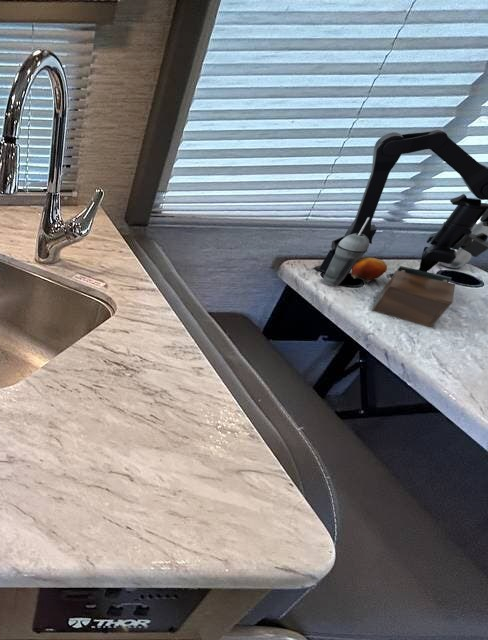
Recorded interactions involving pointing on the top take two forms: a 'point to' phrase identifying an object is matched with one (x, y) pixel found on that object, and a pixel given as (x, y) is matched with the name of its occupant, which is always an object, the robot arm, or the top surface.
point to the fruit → (368, 269)
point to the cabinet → (415, 298)
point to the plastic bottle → (461, 254)
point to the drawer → (424, 274)
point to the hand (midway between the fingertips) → (420, 274)
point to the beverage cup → (346, 257)
